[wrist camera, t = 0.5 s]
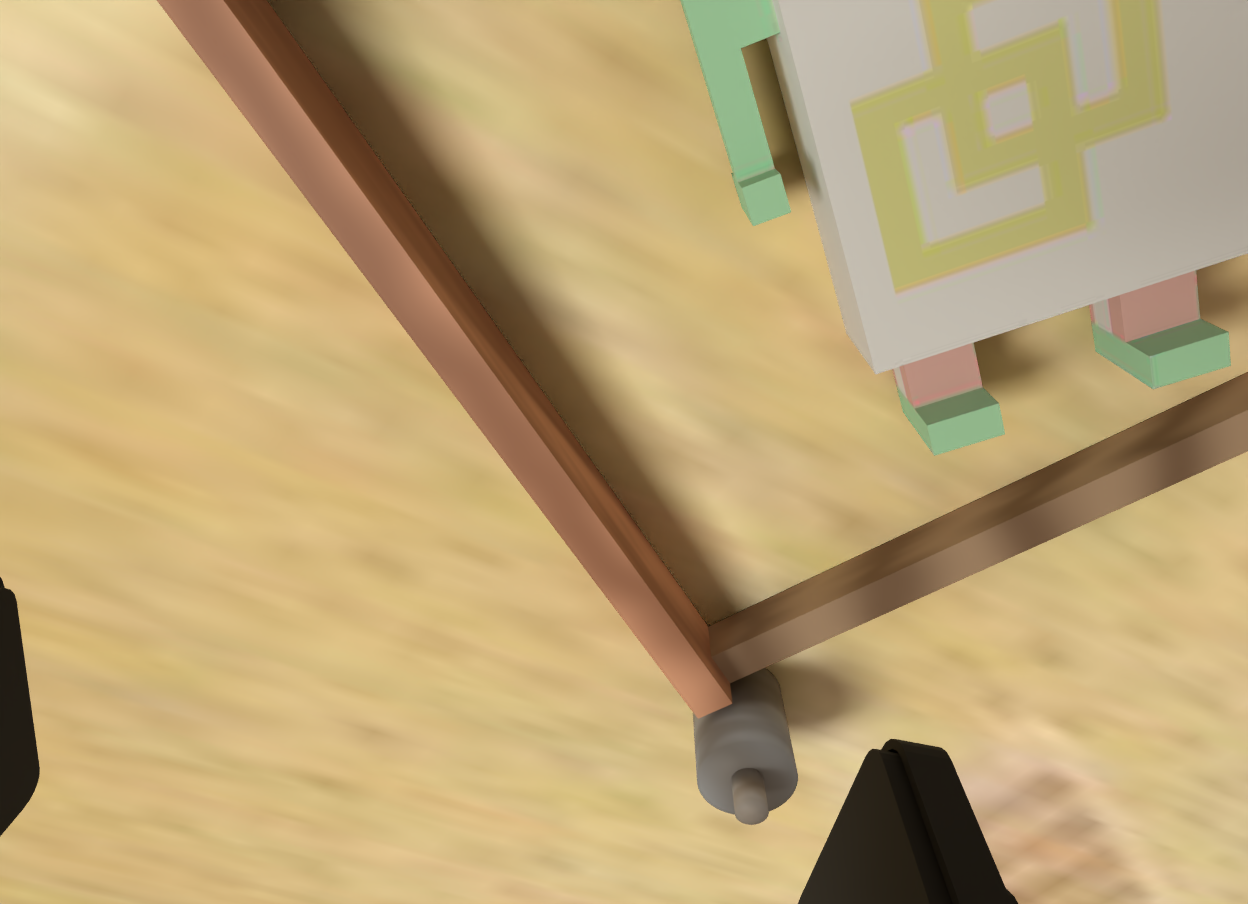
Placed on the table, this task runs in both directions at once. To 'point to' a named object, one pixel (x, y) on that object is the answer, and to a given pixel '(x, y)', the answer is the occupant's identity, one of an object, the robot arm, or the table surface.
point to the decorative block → (999, 174)
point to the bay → (576, 491)
